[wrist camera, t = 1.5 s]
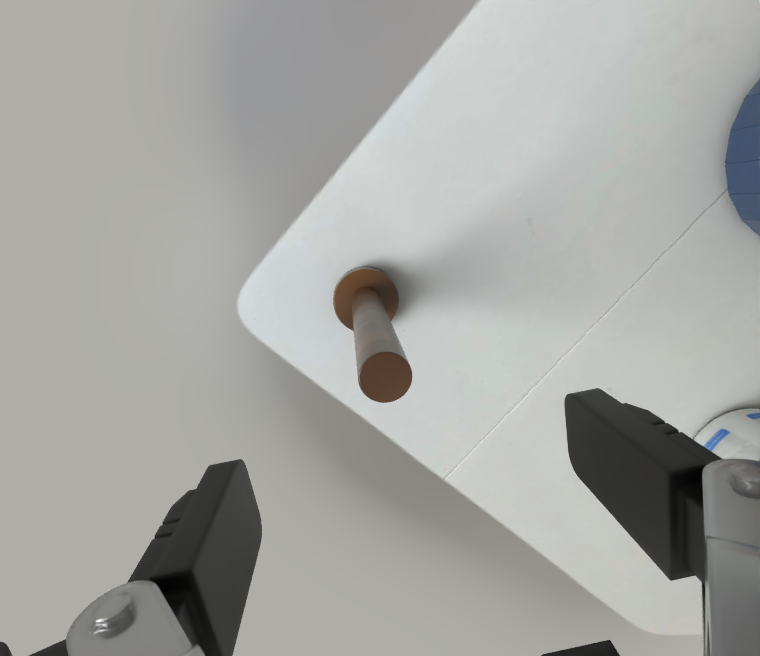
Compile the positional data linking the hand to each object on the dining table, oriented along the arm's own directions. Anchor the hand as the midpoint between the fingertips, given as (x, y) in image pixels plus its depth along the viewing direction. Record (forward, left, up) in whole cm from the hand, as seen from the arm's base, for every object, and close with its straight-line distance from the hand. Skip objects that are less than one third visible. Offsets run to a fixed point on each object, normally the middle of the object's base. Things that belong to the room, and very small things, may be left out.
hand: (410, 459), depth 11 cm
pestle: (0, 0, -21) cm, 21 cm away
